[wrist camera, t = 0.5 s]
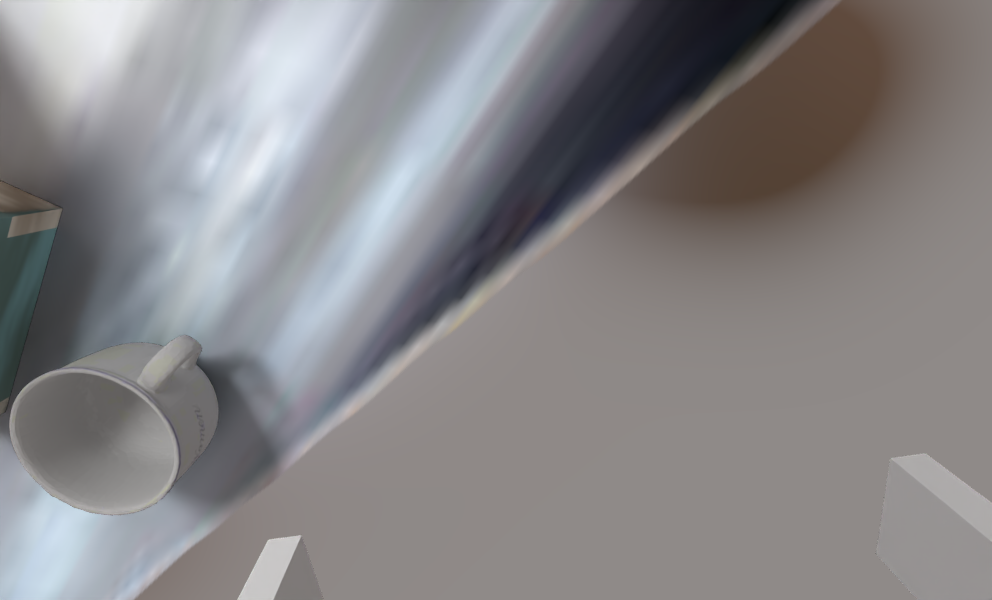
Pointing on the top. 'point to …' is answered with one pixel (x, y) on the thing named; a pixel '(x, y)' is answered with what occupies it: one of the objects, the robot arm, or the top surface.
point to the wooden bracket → (20, 272)
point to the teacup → (116, 425)
